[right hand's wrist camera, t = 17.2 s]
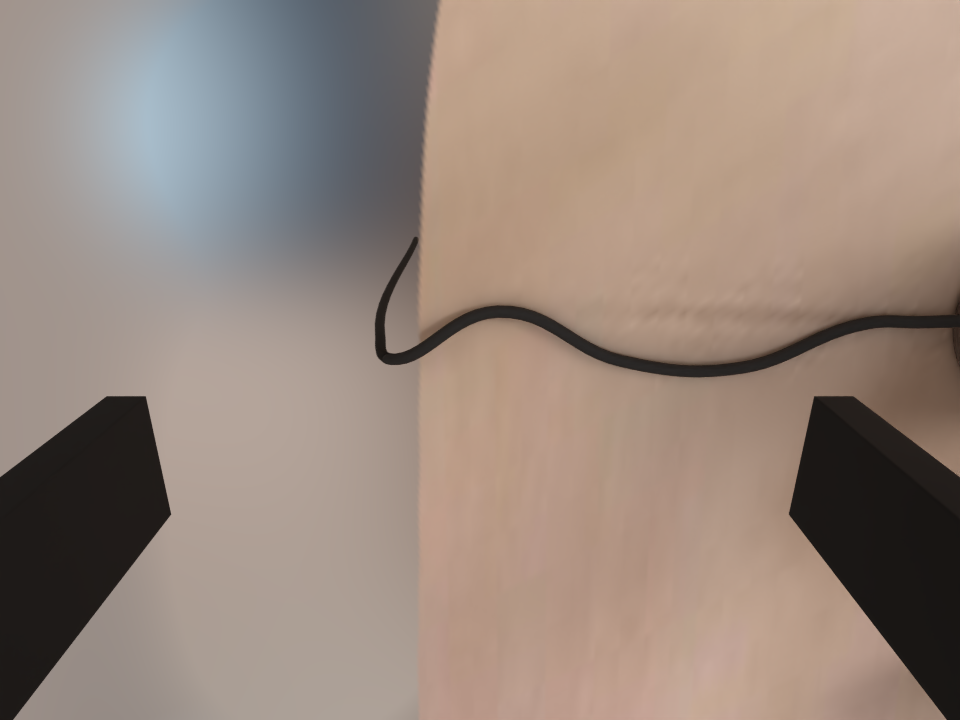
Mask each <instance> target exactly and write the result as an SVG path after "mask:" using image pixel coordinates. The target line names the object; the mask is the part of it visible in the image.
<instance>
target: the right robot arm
mask: <svg viewBox="0 0 960 720" xmlns="http://www.w3.org/2000/svg"><path fill="white" fill-rule="evenodd" d="M418 241H419V238H418V237H414V238H413V240H412V243H411V245H410V247H409V248H408V250H407V252H406V254H405V255H404V257H403V259H402V260H401V262H400V264H399V265H398V267H397V268H396V270H395V272H394V273H393V275H392V277H391V279H390V281H389V282H388V284H387V286H386V288H385V290H384V292H383V294H382V297H381V299H380V302H379V305H378V308H377V312H376V318H375V350H376V355H377V357H378V358H379V359H380V360H381V361H382V362H383V363H385V364H389V365H401V364H406V363H409V362H412V361H414V360H416V359H418V358H420V357H422V356H424V355H425V354H427V353H428V352H430V351H431V350H433V349H434V348H436V347H437V346H438V345H440V344H441V343H442V342H444V341H445V340H447V339H448V338H449V337H451V336H452V335H454V334H455V333H457V332H458V331H460V330H461V329H463V328H465V327H467V326H469V325H471V324H473V323H476V322H478V321H482V320H486V319H491V318H513V319H519V320H523V321H526V322H530V323H533V324H535V325H537V326H540V327H542V328H544V329H545V330H547V331H549V332H551V333H553V334H554V335H556V336H558V337H559V338H561V339H562V340H564V341H566V342H567V343H569V344H570V345H572V346H574V347H575V348H577V349H578V350H580V351H582V352H584V353H585V354H587V355H589V356H591V357H593V358H596V359H598V360H600V361H603V362H606V363H608V364H612V365H615V366H619V367H623V368H628V369H633V370H638V371H643V372H648V373H654V374H661V375H669V376H679V377H716V376H727V375H736V374H743V373H748V372H754V371H758V370H761V369H765V368H768V367H771V366H774V365H777V364H779V363H782V362H784V361H787V360H789V359H791V358H793V357H796V356H798V355H800V354H802V353H804V352H806V351H808V350H810V349H812V348H815V347H817V346H819V345H821V344H823V343H826V342H828V341H830V340H833V339H835V338H838V337H841V336H844V335H847V334H851V333H854V332H858V331H863V330H867V329H873V328H886V327H891V328H952V327H954V329H953V341H954V349H955V353H956V357H957V361H958V363H959V366H960V300H959V303H958V306H957V310H956V315H941V316H898V315H883V316H872V317H866V318H861V319H857V320H852V321H849V322H845V323H842V324H839V325H836V326H834V327H831V328H828V329H826V330H823V331H821V332H819V333H816V334H814V335H812V336H810V337H808V338H806V339H804V340H802V341H800V342H797V343H795V344H793V345H791V346H789V347H787V348H785V349H782V350H780V351H778V352H775V353H773V354H770V355H767V356H764V357H761V358H757V359H753V360H749V361H743V362H737V363H730V364H720V365H702V366H694V365H676V364H667V363H660V362H653V361H648V360H643V359H638V358H633V357H628V356H623V355H620V354H616V353H612V352H610V351H607V350H605V349H602V348H600V347H598V346H596V345H594V344H592V343H590V342H588V341H586V340H585V339H583V338H581V337H580V336H578V335H577V334H575V333H573V332H572V331H570V330H569V329H567V328H566V327H564V326H562V325H561V324H559V323H557V322H556V321H554V320H552V319H550V318H548V317H547V316H544V315H542V314H540V313H537V312H535V311H532V310H528V309H525V308H520V307H514V306H489V307H484V308H480V309H476V310H473V311H471V312H468V313H466V314H464V315H462V316H460V317H458V318H456V319H455V320H453V321H451V322H450V323H448V324H447V325H445V326H444V327H442V328H441V329H440V330H438V331H437V332H436V333H434V334H433V335H431V336H430V337H429V338H427V339H426V340H424V341H423V342H422V343H420V344H418V345H417V346H415V347H413V348H412V349H410V350H407V351H405V352H402V353H397V354H392V353H389V352H387V349H386V337H385V316H386V311H387V307H388V303H389V300H390V297H391V295H392V293H393V290H394V288H395V286H396V284H397V282H398V280H399V278H400V276H401V274H402V272H403V271H404V269H405V267H406V265H407V263H408V262H409V260H410V258H411V256H412V254H413V252H414V250H415V248H416V246H417V244H418ZM170 515H171V512H170V507H169V502H168V498H167V493H166V488H165V484H164V479H163V474H162V470H161V465H160V461H159V456H158V451H157V447H156V442H155V437H154V433H153V428H152V423H151V419H150V414H149V409H148V405H147V400H146V397H145V396H107V397H105V398H104V399H103V400H101V401H100V402H99V403H97V404H96V405H95V406H93V407H92V408H91V409H89V410H88V411H87V412H86V413H84V414H83V415H82V416H80V417H79V418H78V419H76V420H75V421H74V422H72V423H71V424H70V425H68V426H67V427H66V428H64V429H63V430H62V431H60V432H59V433H58V434H57V435H55V436H54V437H53V438H51V439H50V440H49V441H47V442H46V443H45V444H43V445H42V446H41V447H39V448H38V449H37V450H35V451H34V452H33V453H32V454H30V455H29V456H28V457H26V458H25V459H24V460H22V461H21V462H20V463H18V464H17V465H16V466H14V467H13V468H12V469H10V470H9V471H8V472H7V473H5V474H4V475H3V476H1V477H0V720H13V719H14V718H15V717H16V715H17V714H18V713H19V711H20V710H21V709H22V707H23V706H24V705H25V704H26V702H27V701H28V700H29V698H30V697H31V696H32V694H33V693H34V692H35V691H36V689H37V688H38V687H39V685H40V684H41V683H42V681H43V680H44V679H45V677H46V676H47V675H48V674H49V672H50V671H51V670H52V668H53V667H54V666H55V665H56V663H57V662H58V661H59V659H60V658H61V657H62V655H63V654H64V653H65V651H66V650H67V649H68V648H69V646H70V645H71V644H72V642H73V641H74V640H75V638H76V637H77V636H78V635H79V633H80V632H81V631H82V629H83V628H84V627H85V626H86V624H87V623H88V622H89V620H90V619H91V618H92V616H93V615H94V614H95V613H96V611H97V610H98V609H99V607H100V606H101V605H102V603H103V602H104V601H105V600H106V598H107V597H108V596H109V594H110V593H111V592H112V591H113V589H114V588H115V587H116V585H117V584H118V583H119V581H120V580H121V579H122V577H123V576H124V575H125V574H126V572H127V571H128V570H129V568H130V567H131V566H132V565H133V563H134V562H135V561H136V559H137V558H138V557H139V555H140V554H141V553H142V552H143V550H144V549H145V548H146V546H147V545H148V544H149V542H150V541H151V540H152V539H153V537H154V536H155V535H156V533H157V532H158V531H159V529H160V528H161V527H162V526H163V524H164V523H165V522H166V520H167V519H168V518H169V516H170ZM789 515H790V516H791V518H792V519H793V520H794V522H795V523H796V524H797V526H798V527H799V528H800V529H801V531H802V532H803V533H804V535H805V536H806V537H807V539H808V540H809V541H810V542H811V544H812V545H813V546H814V548H815V549H816V550H817V552H818V553H819V554H820V555H821V557H822V558H823V559H824V561H825V562H826V563H827V565H828V566H829V567H830V568H831V570H832V571H833V572H834V574H835V575H836V576H837V578H838V579H839V580H840V581H841V583H842V584H843V585H844V587H845V588H846V589H847V591H848V592H849V593H850V594H851V596H852V597H853V598H854V600H855V601H856V602H857V604H858V605H859V606H860V607H861V609H862V610H863V611H864V613H865V614H866V615H867V616H868V618H869V619H870V620H871V622H872V623H873V624H874V626H875V627H876V628H877V629H878V631H879V632H880V633H881V635H882V636H883V637H884V639H885V640H886V641H887V642H888V644H889V645H890V646H891V648H892V649H893V650H894V652H895V653H896V654H897V655H898V657H899V658H900V659H901V661H902V662H903V663H904V665H905V666H906V667H907V668H908V670H909V671H910V672H911V674H912V675H913V676H914V678H915V679H916V680H917V681H918V683H919V684H920V685H921V687H922V688H923V689H924V691H925V692H926V693H927V694H928V696H929V697H930V698H931V700H932V701H933V702H934V704H935V705H936V706H937V707H938V709H939V710H940V711H941V713H942V714H943V715H944V717H945V718H946V719H947V720H960V477H959V476H957V475H956V474H955V473H954V472H952V471H951V470H950V469H948V468H947V467H946V466H944V465H943V464H942V463H940V462H939V461H938V460H936V459H935V458H934V457H932V456H931V455H930V454H929V453H927V452H926V451H925V450H923V449H922V448H921V447H919V446H918V445H917V444H915V443H914V442H913V441H911V440H910V439H909V438H907V437H906V436H905V435H903V434H902V433H901V432H900V431H898V430H897V429H896V428H894V427H893V426H892V425H890V424H889V423H888V422H886V421H885V420H884V419H882V418H881V417H880V416H878V415H877V414H876V413H875V412H873V411H872V410H871V409H869V408H868V407H867V406H865V405H864V404H863V403H861V402H860V401H859V400H857V399H856V398H855V397H853V396H814V400H813V405H812V409H811V414H810V419H809V423H808V428H807V433H806V437H805V442H804V447H803V451H802V456H801V461H800V465H799V470H798V474H797V479H796V484H795V488H794V493H793V498H792V502H791V507H790V512H789Z"/></svg>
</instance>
